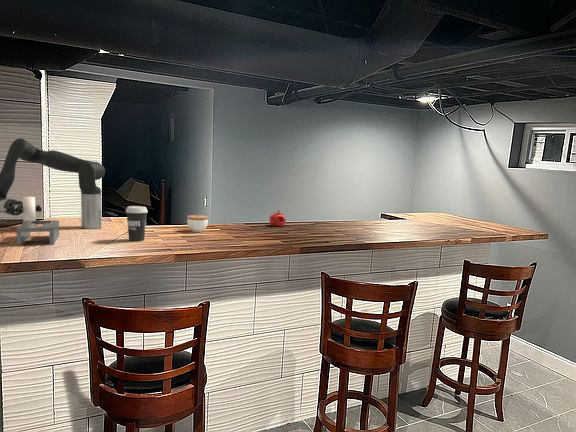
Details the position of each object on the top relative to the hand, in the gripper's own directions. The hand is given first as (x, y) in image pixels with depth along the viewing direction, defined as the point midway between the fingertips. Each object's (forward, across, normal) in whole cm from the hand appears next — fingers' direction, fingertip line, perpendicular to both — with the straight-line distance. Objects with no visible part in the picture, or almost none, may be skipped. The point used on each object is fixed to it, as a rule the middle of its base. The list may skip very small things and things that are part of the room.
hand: (31, 210), depth 201 cm
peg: (-2, 0, +10) cm, 10 cm away
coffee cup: (+48, +18, +10) cm, 53 cm away
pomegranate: (+74, +102, +10) cm, 127 cm away
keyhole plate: (+20, -9, +10) cm, 25 cm away
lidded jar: (+53, +54, +10) cm, 77 cm away
